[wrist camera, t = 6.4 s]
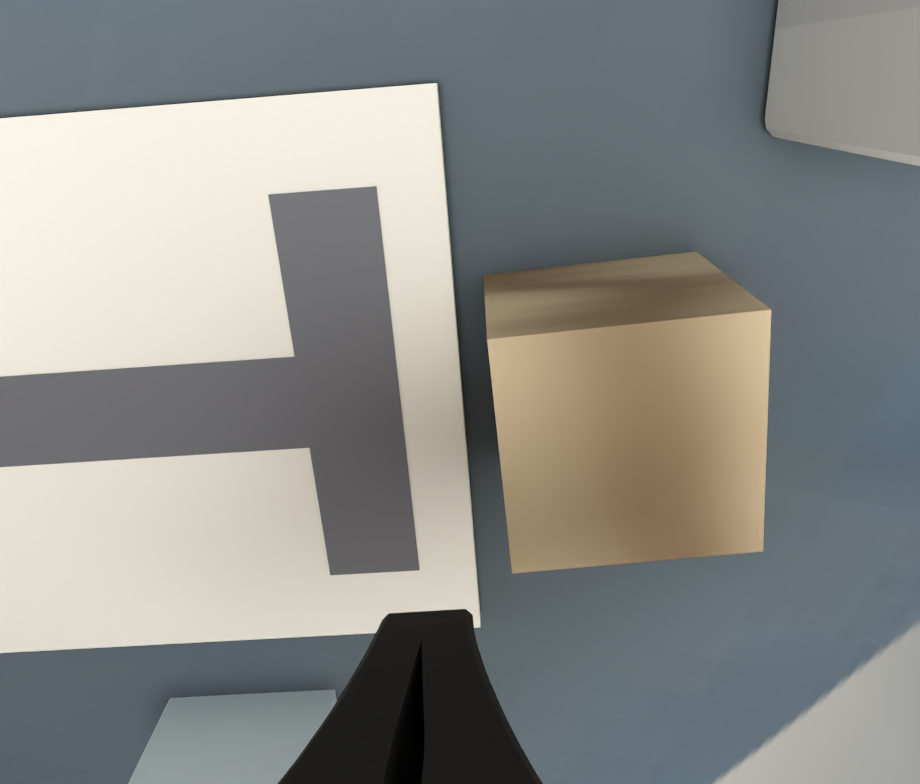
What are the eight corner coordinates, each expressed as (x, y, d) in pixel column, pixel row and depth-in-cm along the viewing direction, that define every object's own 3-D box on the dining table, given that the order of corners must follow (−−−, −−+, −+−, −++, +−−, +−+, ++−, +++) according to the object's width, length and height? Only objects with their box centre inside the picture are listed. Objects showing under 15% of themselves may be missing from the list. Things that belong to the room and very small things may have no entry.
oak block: (502, 461, 20) (512, 573, 16) (483, 273, 19) (487, 339, 14) (696, 441, 20) (762, 551, 16) (695, 250, 18) (771, 309, 14)
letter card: (-2, 639, 23) (-15, 654, 22) (-187, 133, 17) (-210, 135, 17) (480, 613, 22) (480, 628, 22) (437, 82, 17) (436, 82, 16)
